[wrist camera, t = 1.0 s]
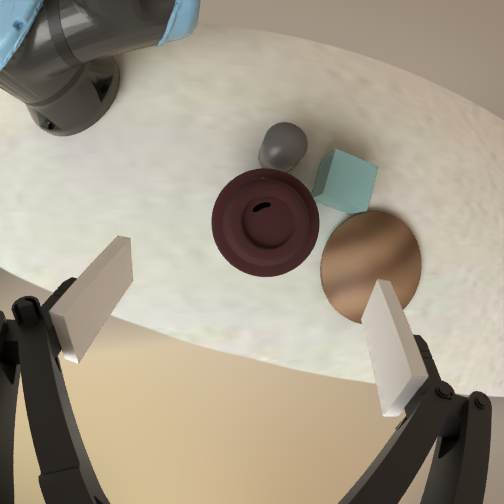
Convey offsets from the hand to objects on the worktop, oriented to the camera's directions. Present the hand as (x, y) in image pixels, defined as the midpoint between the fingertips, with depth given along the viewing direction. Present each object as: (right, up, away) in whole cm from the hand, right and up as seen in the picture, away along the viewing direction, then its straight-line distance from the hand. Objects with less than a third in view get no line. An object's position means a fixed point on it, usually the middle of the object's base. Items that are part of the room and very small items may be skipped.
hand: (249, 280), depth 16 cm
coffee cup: (0, +5, +26) cm, 26 cm away
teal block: (+12, +11, +27) cm, 31 cm away
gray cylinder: (+3, +14, +26) cm, 30 cm away
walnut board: (+17, -1, +28) cm, 33 cm away
